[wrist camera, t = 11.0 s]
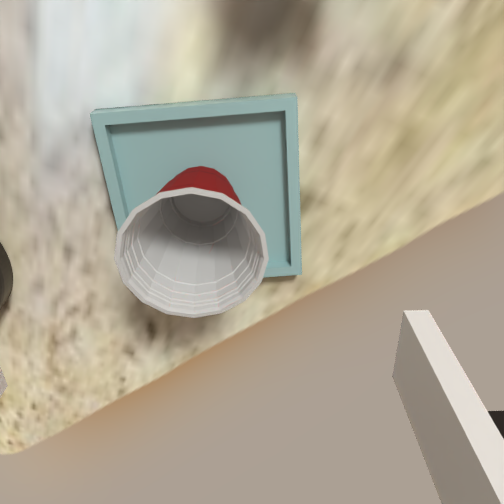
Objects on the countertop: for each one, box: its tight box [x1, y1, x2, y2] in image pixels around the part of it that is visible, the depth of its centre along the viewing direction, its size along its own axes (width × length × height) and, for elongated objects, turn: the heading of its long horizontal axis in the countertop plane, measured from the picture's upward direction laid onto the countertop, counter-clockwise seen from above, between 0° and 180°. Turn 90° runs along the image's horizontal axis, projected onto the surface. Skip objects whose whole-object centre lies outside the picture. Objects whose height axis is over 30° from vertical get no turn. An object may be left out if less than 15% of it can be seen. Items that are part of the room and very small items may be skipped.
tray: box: [90, 93, 302, 277], centre depth 42 cm, size 17×17×2 cm
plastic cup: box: [114, 166, 269, 318], centre depth 37 cm, size 11×11×12 cm
